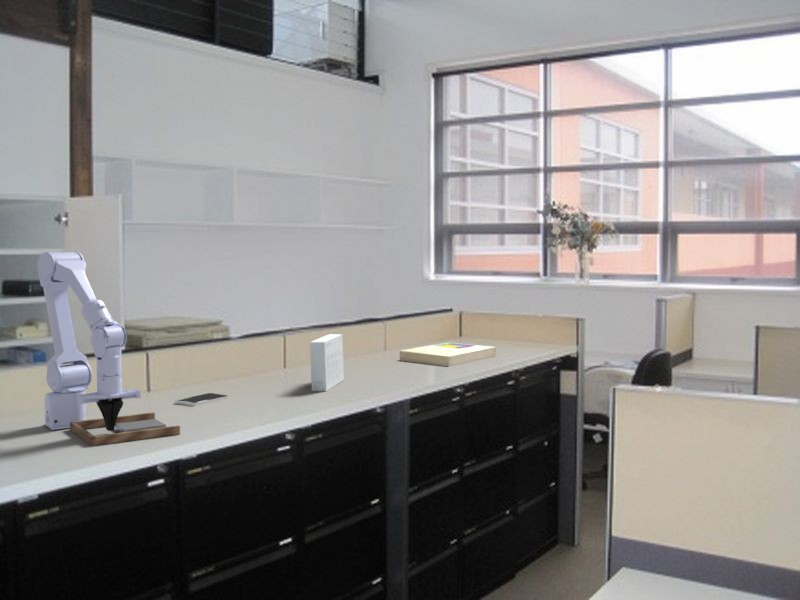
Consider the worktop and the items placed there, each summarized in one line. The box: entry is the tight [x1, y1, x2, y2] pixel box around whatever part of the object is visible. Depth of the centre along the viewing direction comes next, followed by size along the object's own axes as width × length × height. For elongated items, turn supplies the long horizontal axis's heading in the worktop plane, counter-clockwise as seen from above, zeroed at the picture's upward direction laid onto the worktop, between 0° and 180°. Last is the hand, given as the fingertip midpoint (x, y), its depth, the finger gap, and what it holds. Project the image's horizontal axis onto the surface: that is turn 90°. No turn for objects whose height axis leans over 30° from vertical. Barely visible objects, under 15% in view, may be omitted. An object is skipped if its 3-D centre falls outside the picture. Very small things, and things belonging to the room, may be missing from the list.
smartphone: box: [174, 392, 229, 407], centre depth 243 cm, size 8×1×15 cm
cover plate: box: [115, 418, 167, 433], centre depth 206 cm, size 10×8×2 cm
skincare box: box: [309, 333, 345, 392], centre depth 270 cm, size 21×5×16 cm, turn 168°
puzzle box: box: [399, 342, 497, 367], centre depth 335 cm, size 36×5×24 cm
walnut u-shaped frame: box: [69, 411, 181, 447], centre depth 203 cm, size 21×19×2 cm
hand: (110, 429), depth 201 cm, fingers closed
